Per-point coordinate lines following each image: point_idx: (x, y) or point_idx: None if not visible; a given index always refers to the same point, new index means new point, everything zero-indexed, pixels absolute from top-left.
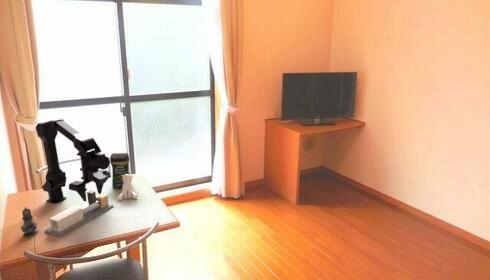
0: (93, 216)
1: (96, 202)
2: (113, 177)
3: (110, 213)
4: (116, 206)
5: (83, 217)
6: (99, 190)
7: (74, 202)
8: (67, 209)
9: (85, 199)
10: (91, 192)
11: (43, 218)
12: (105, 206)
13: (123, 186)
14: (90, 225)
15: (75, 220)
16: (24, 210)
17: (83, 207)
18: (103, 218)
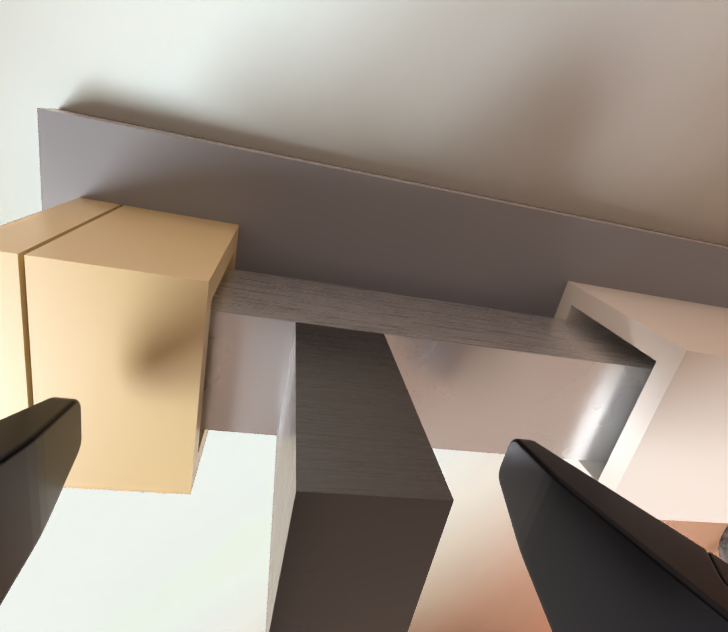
0: (484, 197)
1: (299, 316)
2: None
3: (288, 9)
4: (18, 56)
5: (539, 302)
6: (16, 490)
7: (187, 627)
8: (709, 518)
9: (570, 468)
10: (384, 552)
11: (535, 618)
12: (158, 211)
13: None
14: (664, 104)
15: (700, 311)
16: None
17: (552, 386)
18: (464, 31)
